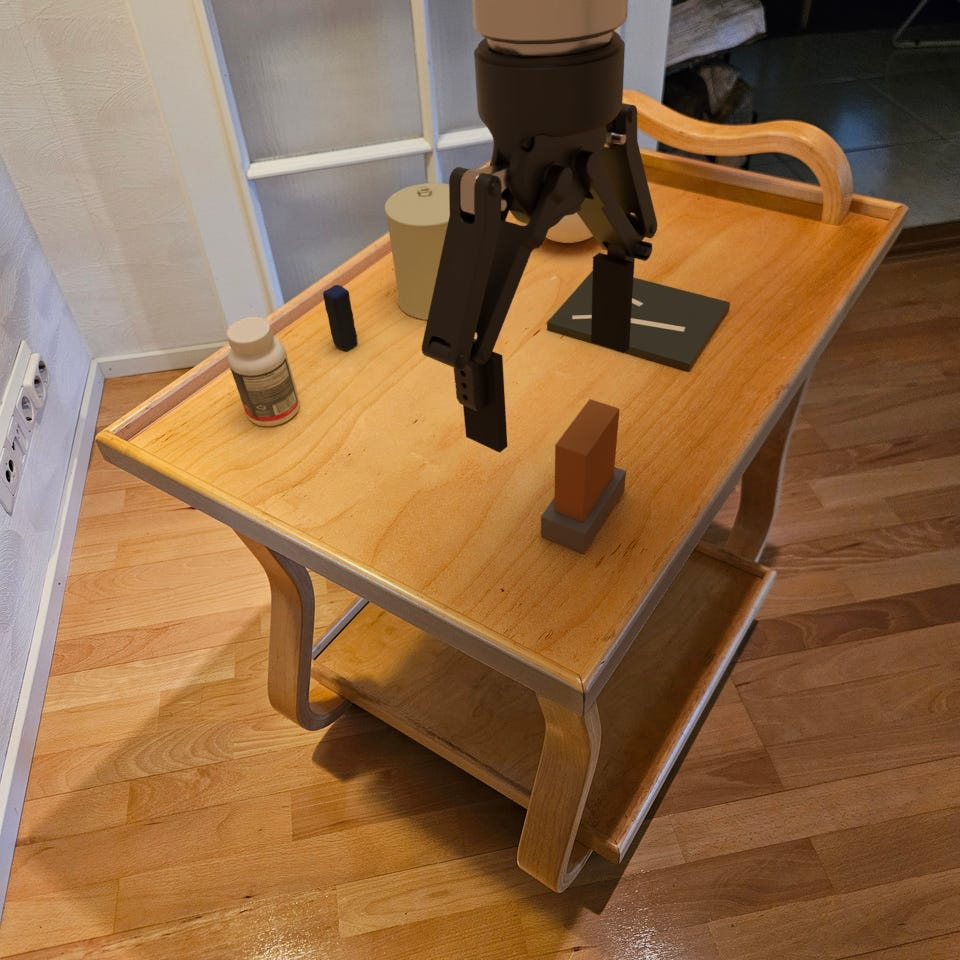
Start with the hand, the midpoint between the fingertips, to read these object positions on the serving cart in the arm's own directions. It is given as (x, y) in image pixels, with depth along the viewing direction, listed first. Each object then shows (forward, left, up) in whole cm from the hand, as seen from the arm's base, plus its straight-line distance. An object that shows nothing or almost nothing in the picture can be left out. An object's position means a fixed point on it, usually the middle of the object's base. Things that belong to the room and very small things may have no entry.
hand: (552, 390), depth 55 cm
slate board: (+7, -34, -18) cm, 39 cm away
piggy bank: (+22, -47, -18) cm, 54 cm away
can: (+29, -28, -18) cm, 44 cm away
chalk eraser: (0, -6, -18) cm, 18 cm away
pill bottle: (+33, -4, -18) cm, 37 cm away
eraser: (+33, -16, -18) cm, 40 cm away
